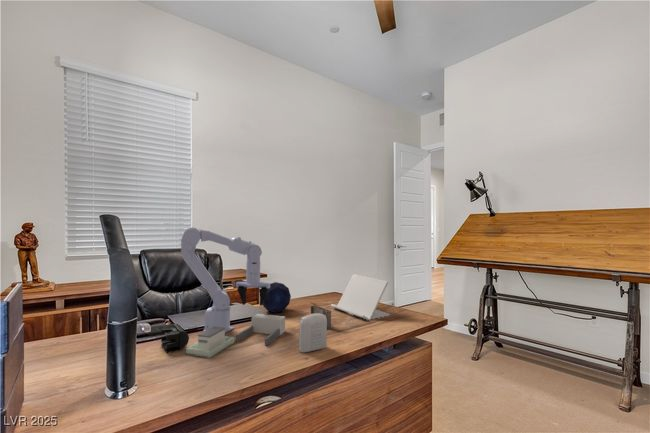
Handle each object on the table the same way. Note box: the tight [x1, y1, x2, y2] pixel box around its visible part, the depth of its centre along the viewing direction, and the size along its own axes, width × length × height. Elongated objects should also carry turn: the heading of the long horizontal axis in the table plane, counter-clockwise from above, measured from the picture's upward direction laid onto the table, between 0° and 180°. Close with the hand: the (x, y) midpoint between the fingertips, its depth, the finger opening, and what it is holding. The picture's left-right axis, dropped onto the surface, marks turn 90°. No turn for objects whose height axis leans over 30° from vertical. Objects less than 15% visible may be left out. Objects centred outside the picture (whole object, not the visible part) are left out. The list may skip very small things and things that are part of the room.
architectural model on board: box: [310, 301, 332, 330], centre depth 142 cm, size 11×3×10 cm, turn 38°
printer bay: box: [235, 313, 286, 347], centre depth 128 cm, size 13×16×6 cm
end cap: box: [160, 323, 190, 354], centre depth 116 cm, size 10×7×7 cm
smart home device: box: [137, 323, 174, 336], centre depth 132 cm, size 8×2×20 cm
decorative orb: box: [262, 281, 292, 314], centre depth 163 cm, size 14×15×15 cm
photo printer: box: [298, 313, 328, 353], centre depth 116 cm, size 10×4×12 cm, turn 123°
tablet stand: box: [330, 273, 391, 321], centre depth 163 cm, size 18×25×17 cm
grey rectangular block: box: [197, 326, 226, 351], centre depth 115 cm, size 5×10×6 cm, turn 163°
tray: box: [185, 335, 235, 359], centre depth 115 cm, size 10×14×2 cm
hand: (252, 304), depth 139 cm, fingers open, 7 cm apart
